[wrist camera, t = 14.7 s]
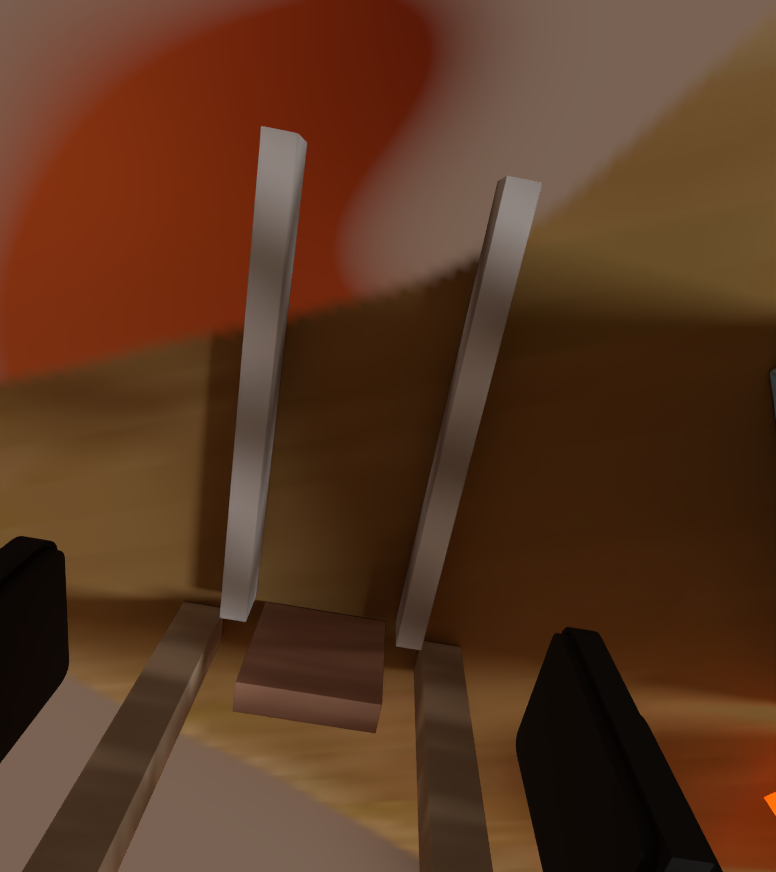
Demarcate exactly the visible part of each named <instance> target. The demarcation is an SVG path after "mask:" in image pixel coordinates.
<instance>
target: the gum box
mask: <svg viewBox="0 0 776 872" xmlns="http://www.w3.org/2000/svg"><path fill="white" fill-rule="evenodd" d="M770 378H771V385H772V393H773V401H774V409H775V418H776V368H774V369H772V370H771V372H770Z"/></svg>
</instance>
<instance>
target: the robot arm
mask: <svg viewBox="0 0 776 872" xmlns="http://www.w3.org/2000/svg"><path fill="white" fill-rule="evenodd" d="M68 666H69V647H68V623H67V600H66V576H65V557H64V554H63V552H62V551H59V550H57V546H56V544H55V543H54V542H52V541H48V540H42V539H36V538H30V537H24V536H19V537H16V538H14V539H12V540H11V541H10V542H9V543H7V544H6V545H5V546H3V547H2V548H1V549H0V763H1V761H2V760H3V759H4V757H5V756H6V755H7V754H8V752H9V751H10V750H11V748H12V747H13V746H14V744H15V743H16V742H17V741H18V739H19V738H20V736H21V735H22V734H23V733H24V731H25V730H26V729H27V727H28V726H29V725H30V723H31V722H32V721H33V720H34V718H35V717H36V716H37V714H38V713H39V712H40V710H41V709H42V708H43V706H44V705H45V704H46V703H47V701H48V700H49V698H50V697H51V696H52V695H53V693H54V692H55V691H56V690H57V688H58V687H59V686H60V684H61V683H62V681H63V679H64V677H65V675H66V673H67V670H68ZM516 752H517V758H518V762H519V766H520V771H521V775H522V780H523V784H524V789H525V793H526V798H527V802H528V807H529V811H530V816H531V820H532V824H533V829H534V833H535V838H536V842H537V847H538V851H539V856H540V860H541V865H542V869H543V872H723V871H722V869H721V867H720V865H719V863H718V861H717V859H716V857H715V855H714V853H713V851H712V849H711V847H710V846H709V844H708V842H707V840H706V838H705V836H704V834H703V832H702V830H701V828H700V826H699V824H698V822H697V820H696V818H695V816H694V814H693V812H692V810H691V808H690V806H689V804H688V802H687V800H686V798H685V796H684V794H683V792H682V790H681V788H680V786H679V784H678V783H677V781H676V779H675V777H674V775H673V773H672V771H671V769H670V767H669V765H668V763H667V761H666V759H665V757H664V755H663V753H662V751H661V749H660V747H659V745H658V743H657V741H656V739H655V737H654V735H653V733H652V731H651V729H650V727H649V725H648V724H647V722H646V721H645V719H644V718H643V717H642V716H641V715H640V713H639V711H638V709H637V707H636V705H635V703H634V701H633V699H632V697H631V695H630V693H629V691H628V689H627V687H626V685H625V683H624V681H623V679H622V677H621V675H620V673H619V671H618V669H617V667H616V665H615V663H614V661H613V660H612V658H611V656H610V654H609V652H608V650H607V648H606V646H605V644H604V642H603V640H602V638H601V636H600V635H599V633H597V632H595V631H590V630H584V629H578V628H572V627H566V628H565V629H564V630H563V631H562V633H561V634H560V633H555V634H554V635H553V638H552V640H551V643H550V645H549V648H548V651H547V653H546V656H545V659H544V662H543V664H542V667H541V670H540V672H539V675H538V678H537V681H536V683H535V686H534V689H533V692H532V694H531V697H530V700H529V702H528V705H527V708H526V711H525V713H524V716H523V719H522V721H521V724H520V727H519V730H518V733H517V738H516Z"/></svg>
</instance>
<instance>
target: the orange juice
mask: <svg viewBox="0 0 776 872" xmlns="http://www.w3.org/2000/svg"><path fill="white" fill-rule="evenodd" d="M764 798H765V800H766V801H767V803H768V805H769V806H770V808H771V809H772V811H773V812H774V814H775V815H776V792H775V793H772V794H770V795H768V796H766V797H764Z"/></svg>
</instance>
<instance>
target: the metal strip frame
mask: <svg viewBox="0 0 776 872" xmlns="http://www.w3.org/2000/svg"><path fill="white" fill-rule="evenodd" d="M306 148H307V142H306V141H305V140H303V138H302V137H301V136H300V135H299V134H297V133H293V132H288V131H283V130H278V129H273V128H268V127H264V126H261V135H260V147H259V160H258V171H257V182H256V195H255V206H254V218H253V230H252V242H251V254H250V266H249V277H248V290H247V302H246V312H245V324H244V336H243V348H242V360H241V372H240V383H239V395H238V407H237V419H236V431H235V443H234V454H233V466H232V478H231V490H230V502H229V514H228V525H227V537H226V549H225V561H224V573H223V585H222V596H221V608H219V607H213V606H207V605H200V604H194V603H188V602H183V604H182V606H181V607H180V609H179V611H178V612H177V614H176V616H175V617H174V619H173V621H172V622H171V624H170V626H169V627H168V629H167V631H166V632H165V634H164V636H163V637H162V639H161V641H160V642H159V644H158V646H157V647H156V649H155V651H154V652H153V654H152V656H151V657H150V659H149V661H148V662H147V664H146V666H145V667H144V669H143V671H142V672H141V674H140V676H139V677H138V679H137V681H136V682H135V684H134V686H133V687H132V689H131V691H130V692H129V694H128V696H127V697H126V699H125V701H124V702H123V704H122V706H121V707H120V709H119V711H118V713H117V714H116V716H115V717H114V719H113V721H112V723H111V724H110V726H109V728H108V729H107V731H106V732H105V734H104V736H103V737H102V739H101V741H100V742H99V744H98V746H97V748H96V749H95V751H94V752H93V754H92V756H91V757H90V759H89V761H88V762H87V764H86V766H85V767H84V769H83V771H82V772H81V774H80V776H79V778H78V779H77V781H76V782H75V784H74V786H73V787H72V789H71V791H70V793H69V794H68V796H67V798H66V799H65V801H64V803H63V804H62V806H61V808H60V809H59V811H58V813H57V814H56V816H55V818H54V819H53V821H52V823H51V824H50V826H49V828H48V829H47V831H46V833H45V834H44V836H43V838H42V840H41V841H40V843H39V844H38V846H37V848H36V849H35V851H34V853H33V854H32V856H31V858H30V859H29V861H28V863H27V864H26V866H25V868H24V870H23V871H22V872H117V871H118V869H119V867H120V865H121V862H122V860H123V858H124V856H125V853H126V851H127V849H128V847H129V844H130V842H131V840H132V838H133V836H134V833H135V831H136V829H137V827H138V824H139V822H140V820H141V818H142V815H143V813H144V811H145V809H146V806H147V804H148V802H149V800H150V798H151V795H152V793H153V791H154V789H155V787H156V784H157V782H158V780H159V778H160V775H161V773H162V771H163V769H164V766H165V764H166V762H167V760H168V758H169V755H170V753H171V751H172V748H173V746H174V744H175V742H176V740H177V738H178V735H179V733H180V731H181V729H182V726H183V724H184V722H185V720H186V717H187V715H188V713H189V711H190V709H191V706H192V704H193V702H194V700H195V697H196V695H197V693H198V691H199V688H200V686H201V684H202V682H203V680H204V677H205V675H206V673H207V671H208V668H209V666H210V664H211V662H212V659H213V657H214V655H215V653H216V651H217V648H218V646H219V644H220V642H221V637H222V626H223V618H225V619H231V620H237V621H243V622H246V620H247V618H248V615H249V613H250V610H251V608H252V605H253V603H254V600H255V598H256V592H257V583H258V574H259V565H260V556H261V547H262V539H263V530H264V521H265V512H266V503H267V494H268V485H269V476H270V468H271V459H272V450H273V441H274V432H275V423H276V414H277V405H278V397H279V388H280V379H281V370H282V361H283V352H284V343H285V334H286V326H287V317H288V308H289V299H290V290H291V280H292V272H293V262H294V254H295V246H296V237H297V227H298V219H299V210H300V201H301V192H302V184H303V174H304V165H305V157H306ZM541 186H542V183H541V182H536V181H531V180H526V179H521V178H516V177H511V176H506V177H504V178H502V179H501V180H499V181H498V182H497V187H496V191H495V196H494V200H493V204H492V208H491V213H490V217H489V222H488V226H487V230H486V234H485V238H484V243H483V247H482V251H481V256H480V260H479V264H478V269H477V273H476V277H475V282H474V286H473V290H472V295H471V299H470V303H469V308H468V312H467V316H466V320H465V325H464V329H463V333H462V338H461V342H460V346H459V351H458V355H457V359H456V364H455V368H454V372H453V377H452V381H451V385H450V389H449V394H448V398H447V402H446V407H445V411H444V415H443V420H442V424H441V428H440V433H439V437H438V441H437V446H436V450H435V454H434V459H433V463H432V467H431V471H430V476H429V480H428V484H427V489H426V493H425V497H424V502H423V506H422V510H421V515H420V519H419V523H418V528H417V532H416V536H415V540H414V545H413V549H412V553H411V558H410V562H409V566H408V571H407V575H406V579H405V584H404V588H403V592H402V597H401V601H400V605H399V610H398V614H397V618H396V646H397V647H403V648H409V649H415V650H419V653H418V657H417V661H416V664H415V668H414V693H415V728H416V762H417V796H418V831H419V865H420V872H493V868H492V861H491V854H490V848H489V841H488V834H487V827H486V820H485V813H484V806H483V799H482V792H481V785H480V779H479V772H478V765H477V758H476V751H475V744H474V737H473V730H472V723H471V716H470V710H469V703H468V696H467V689H466V682H465V675H464V668H463V661H462V654H461V647H458V646H452V645H445V644H439V643H433V642H427V641H424V637H425V633H426V629H427V626H428V622H429V618H430V614H431V610H432V606H433V602H434V599H435V595H436V591H437V587H438V583H439V579H440V575H441V572H442V568H443V564H444V560H445V556H446V552H447V548H448V545H449V541H450V537H451V533H452V529H453V525H454V521H455V518H456V514H457V510H458V506H459V502H460V498H461V494H462V491H463V487H464V483H465V479H466V475H467V471H468V467H469V464H470V460H471V456H472V452H473V448H474V444H475V440H476V437H477V433H478V429H479V425H480V421H481V417H482V413H483V410H484V406H485V402H486V398H487V394H488V390H489V386H490V383H491V379H492V375H493V371H494V367H495V363H496V359H497V356H498V352H499V348H500V344H501V340H502V336H503V332H504V329H505V325H506V321H507V317H508V313H509V309H510V305H511V302H512V298H513V294H514V290H515V286H516V282H517V278H518V274H519V271H520V267H521V263H522V259H523V255H524V251H525V247H526V244H527V240H528V236H529V232H530V228H531V224H532V220H533V217H534V213H535V209H536V205H537V201H538V197H539V193H540V190H541ZM384 645H385V621H379V620H373V619H367V618H361V617H355V616H348V615H342V614H336V613H330V612H324V611H318V610H312V609H306V608H300V607H294V606H288V605H282V604H275V603H269V602H265V605H264V608H263V610H262V613H261V616H260V618H259V621H258V624H257V626H256V629H255V632H254V634H253V637H252V640H251V642H250V645H249V648H248V650H247V653H246V656H245V658H244V661H243V664H242V666H241V669H240V672H239V675H238V677H237V680H236V684H235V694H234V703H233V711H235V712H241V713H248V714H254V715H261V716H267V717H273V718H280V719H286V720H293V721H299V722H306V723H312V724H318V725H325V726H331V727H338V728H344V729H351V730H357V731H364V732H370V733H375V732H376V728H377V724H378V720H379V716H380V711H381V707H382V693H383V669H384Z"/></svg>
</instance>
